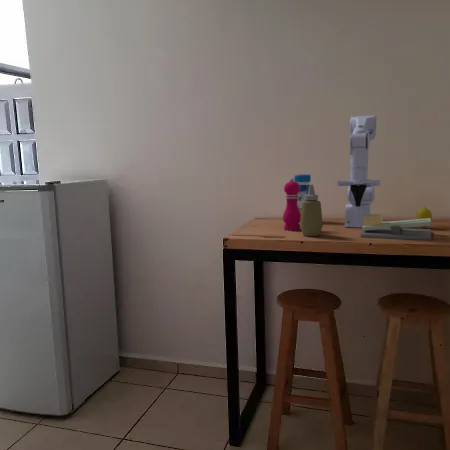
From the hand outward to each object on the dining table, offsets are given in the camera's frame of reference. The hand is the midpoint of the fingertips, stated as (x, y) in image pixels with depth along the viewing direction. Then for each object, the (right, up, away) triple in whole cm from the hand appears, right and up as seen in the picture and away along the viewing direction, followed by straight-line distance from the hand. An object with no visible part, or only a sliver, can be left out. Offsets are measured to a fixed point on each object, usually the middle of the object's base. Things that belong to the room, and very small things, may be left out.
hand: (358, 206), depth 163 cm
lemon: (+27, -8, +7) cm, 29 cm away
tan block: (+5, -7, -1) cm, 8 cm away
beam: (+12, -8, -4) cm, 15 cm away
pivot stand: (+12, -10, -4) cm, 16 cm away
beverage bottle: (-14, -5, +34) cm, 37 cm away
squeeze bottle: (-17, -11, 0) cm, 20 cm away
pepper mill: (-21, -9, +14) cm, 27 cm away
